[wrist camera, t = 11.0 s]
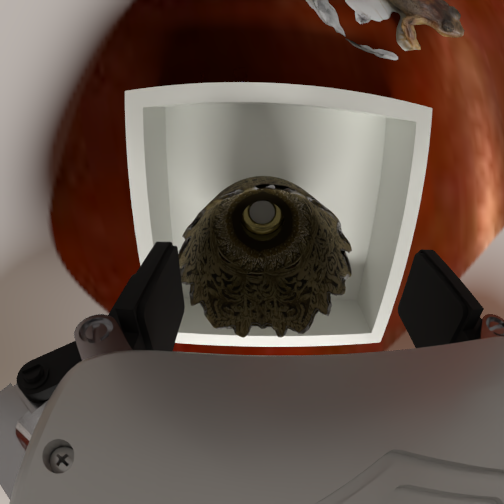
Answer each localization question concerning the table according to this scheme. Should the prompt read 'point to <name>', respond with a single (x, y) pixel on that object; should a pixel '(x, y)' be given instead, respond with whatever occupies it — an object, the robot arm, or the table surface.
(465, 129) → the table surface
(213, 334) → the bin
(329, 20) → the frog figurine
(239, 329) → the embossed bronze vase
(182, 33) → the table surface
